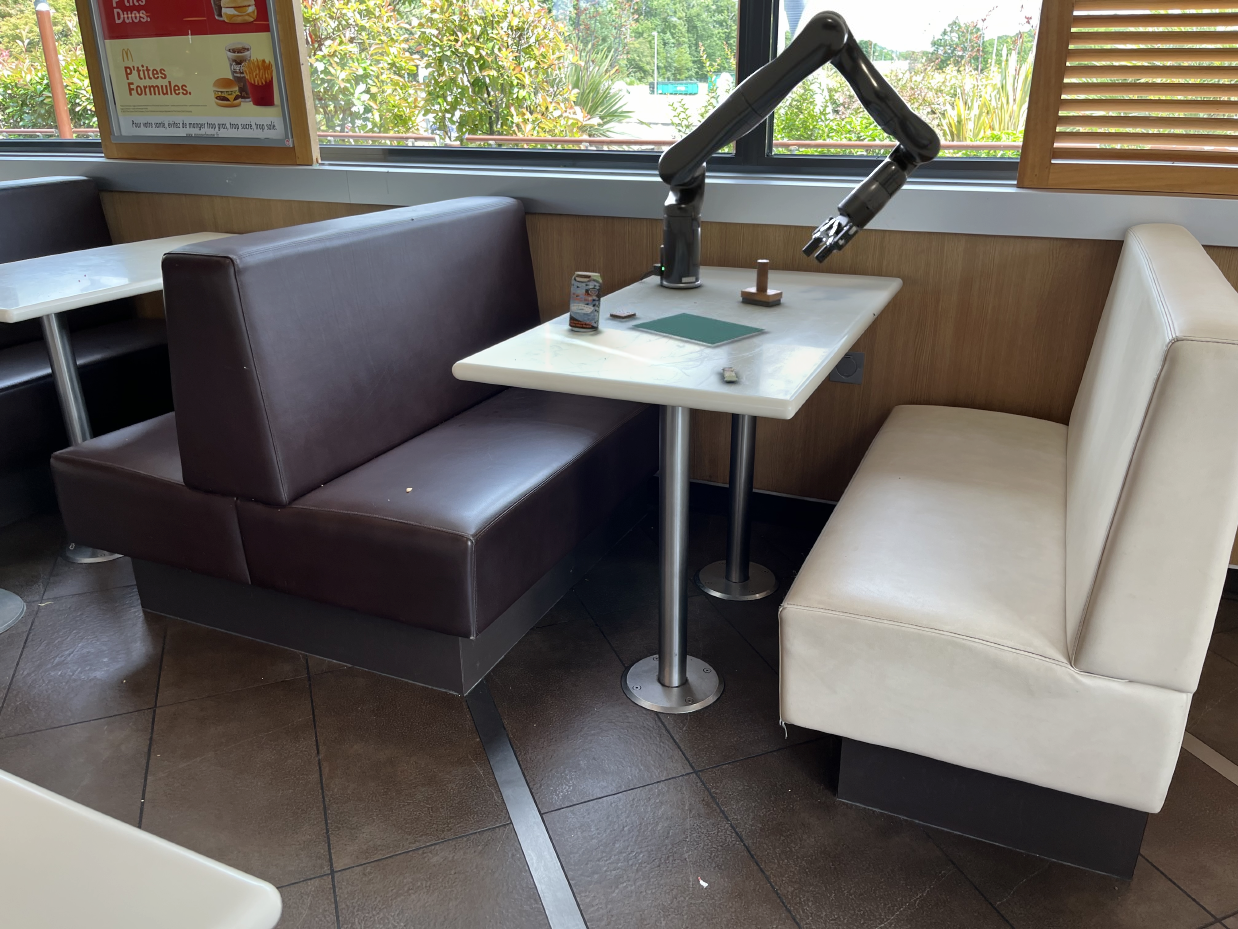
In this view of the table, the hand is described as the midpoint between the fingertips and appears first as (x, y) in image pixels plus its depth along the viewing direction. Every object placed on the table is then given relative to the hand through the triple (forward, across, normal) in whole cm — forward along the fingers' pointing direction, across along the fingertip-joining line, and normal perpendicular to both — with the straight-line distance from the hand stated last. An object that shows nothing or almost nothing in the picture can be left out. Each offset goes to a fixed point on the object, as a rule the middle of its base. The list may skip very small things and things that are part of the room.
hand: (810, 257), depth 201 cm
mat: (+29, +23, -15) cm, 40 cm away
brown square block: (+38, +10, -24) cm, 46 cm away
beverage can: (+45, +19, -30) cm, 57 cm away
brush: (+15, 0, -1) cm, 15 cm away
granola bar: (+30, +56, -16) cm, 66 cm away
